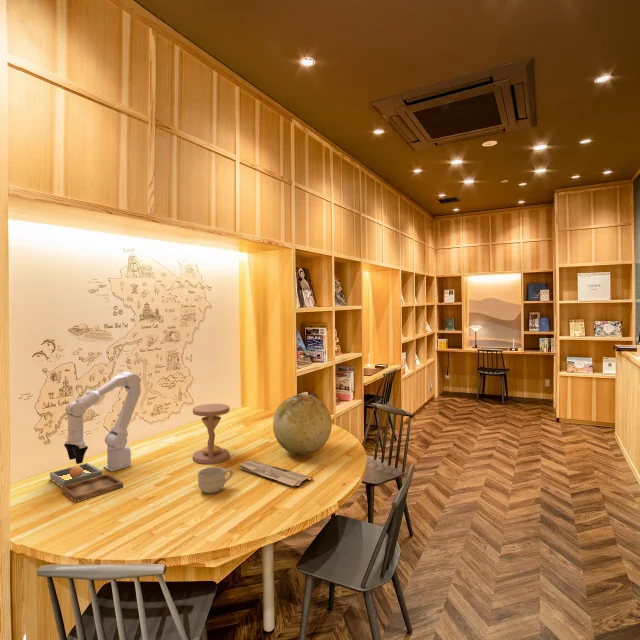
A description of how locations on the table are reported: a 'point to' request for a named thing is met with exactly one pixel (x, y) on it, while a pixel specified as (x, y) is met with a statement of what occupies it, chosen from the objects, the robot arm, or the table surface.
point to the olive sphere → (302, 424)
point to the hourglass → (211, 433)
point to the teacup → (212, 479)
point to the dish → (84, 476)
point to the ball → (76, 471)
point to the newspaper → (273, 472)
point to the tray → (92, 487)
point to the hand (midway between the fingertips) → (75, 461)
